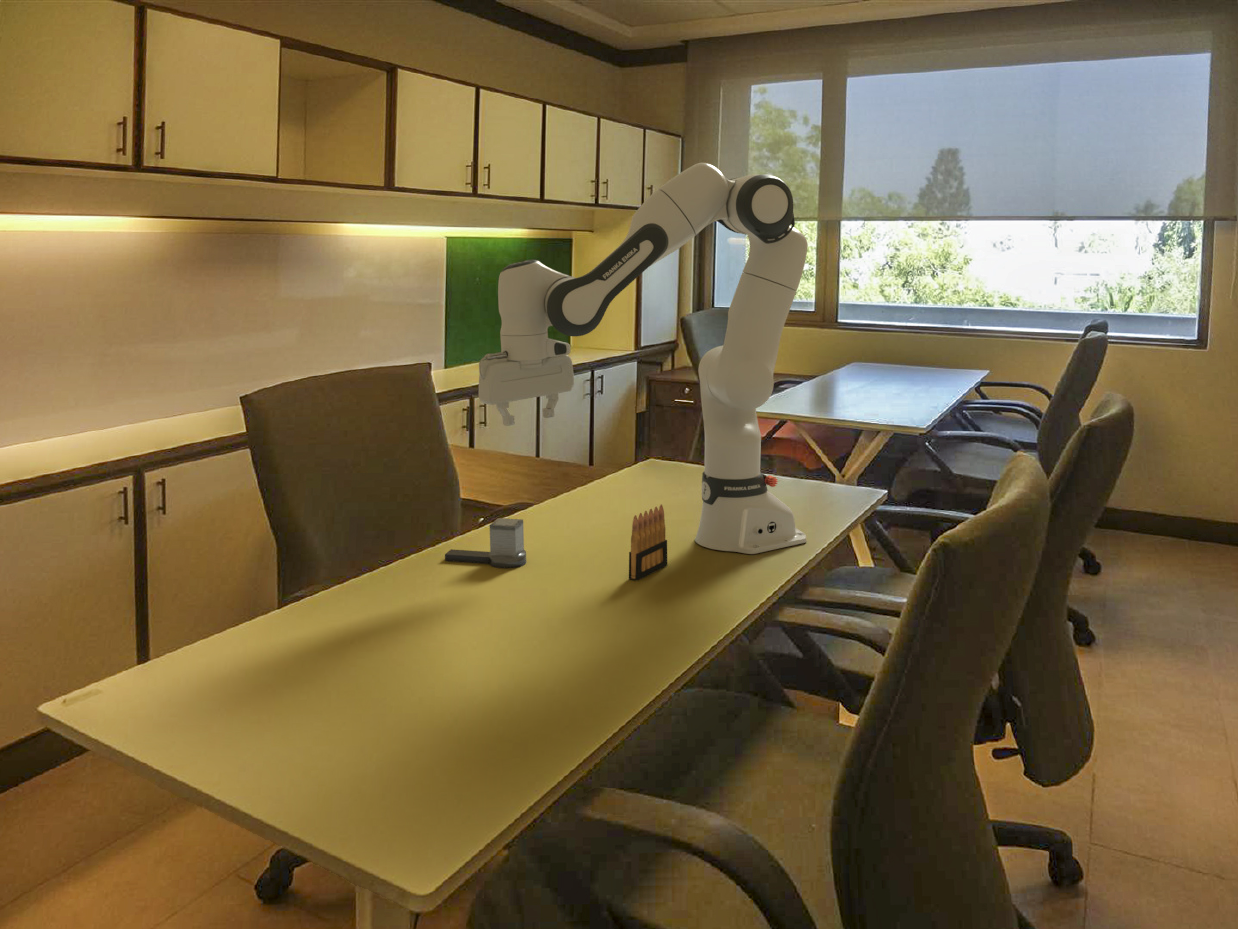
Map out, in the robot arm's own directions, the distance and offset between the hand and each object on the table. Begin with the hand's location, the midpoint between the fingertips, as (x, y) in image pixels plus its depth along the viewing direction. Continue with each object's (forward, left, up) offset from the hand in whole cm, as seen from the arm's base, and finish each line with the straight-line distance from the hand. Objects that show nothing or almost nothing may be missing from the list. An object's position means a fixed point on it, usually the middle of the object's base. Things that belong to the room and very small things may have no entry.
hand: (529, 421), depth 204 cm
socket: (+6, +4, -24) cm, 25 cm away
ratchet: (+10, +2, -26) cm, 28 cm away
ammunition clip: (-16, +20, -26) cm, 37 cm away
